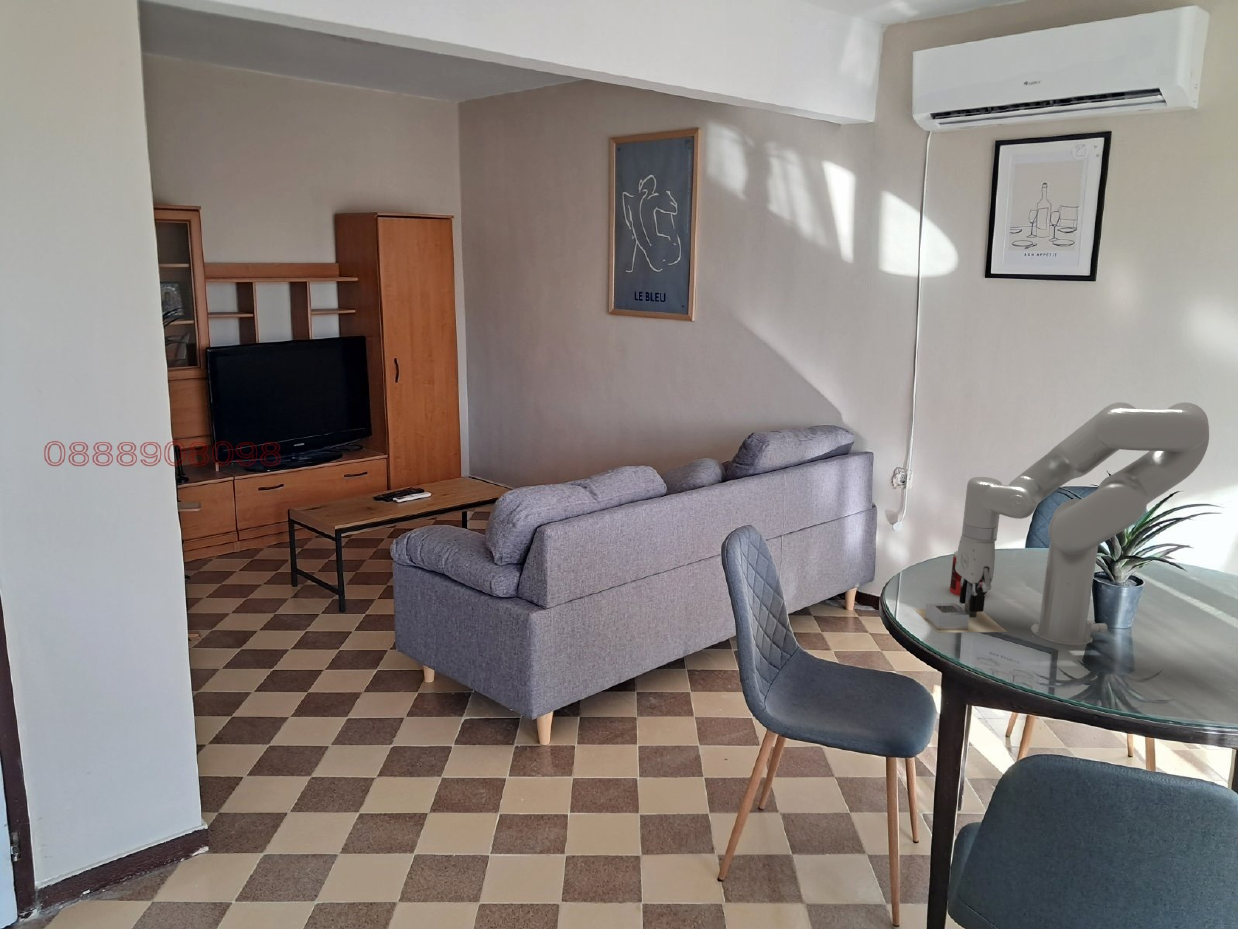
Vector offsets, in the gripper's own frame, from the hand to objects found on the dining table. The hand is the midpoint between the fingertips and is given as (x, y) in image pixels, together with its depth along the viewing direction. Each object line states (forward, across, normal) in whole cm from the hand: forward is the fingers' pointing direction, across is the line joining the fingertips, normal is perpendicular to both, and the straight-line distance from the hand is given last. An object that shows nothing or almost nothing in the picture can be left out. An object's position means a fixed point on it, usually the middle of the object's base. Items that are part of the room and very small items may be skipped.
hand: (971, 606), depth 221 cm
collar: (+2, +5, -8) cm, 10 cm away
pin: (+2, 0, 0) cm, 2 cm away
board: (+3, +3, -4) cm, 6 cm away
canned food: (+4, -15, +6) cm, 17 cm away
